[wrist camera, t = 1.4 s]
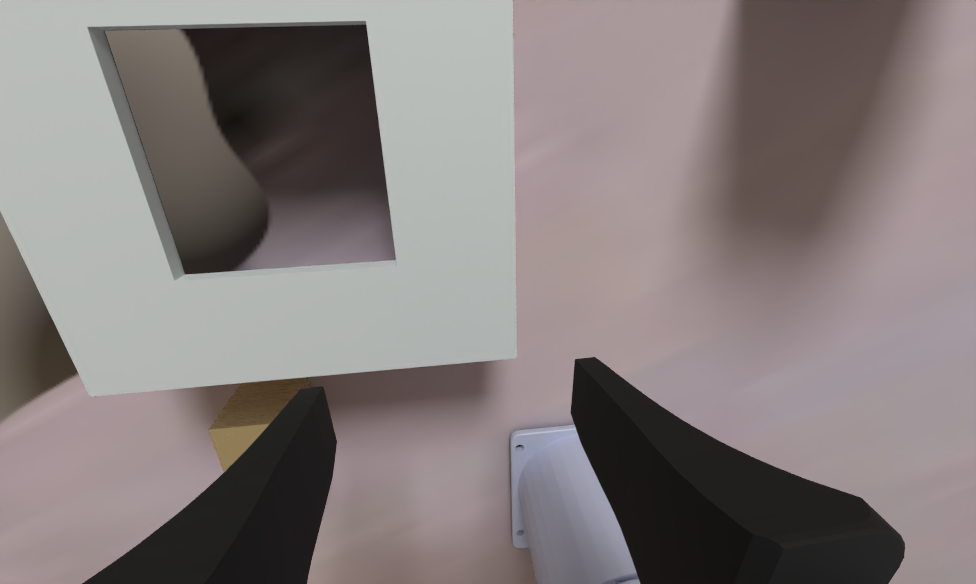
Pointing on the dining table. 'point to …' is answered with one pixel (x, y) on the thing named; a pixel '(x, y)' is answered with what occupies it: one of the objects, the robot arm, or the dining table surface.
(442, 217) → the white square ring
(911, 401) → the dining table surface
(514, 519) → the robot arm
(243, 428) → the wooden block
